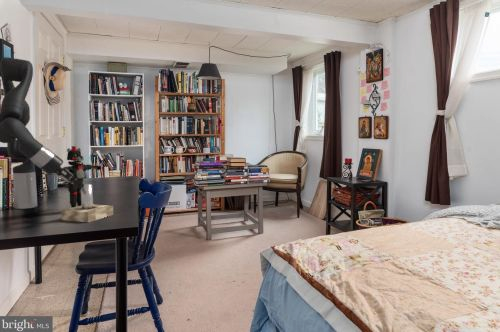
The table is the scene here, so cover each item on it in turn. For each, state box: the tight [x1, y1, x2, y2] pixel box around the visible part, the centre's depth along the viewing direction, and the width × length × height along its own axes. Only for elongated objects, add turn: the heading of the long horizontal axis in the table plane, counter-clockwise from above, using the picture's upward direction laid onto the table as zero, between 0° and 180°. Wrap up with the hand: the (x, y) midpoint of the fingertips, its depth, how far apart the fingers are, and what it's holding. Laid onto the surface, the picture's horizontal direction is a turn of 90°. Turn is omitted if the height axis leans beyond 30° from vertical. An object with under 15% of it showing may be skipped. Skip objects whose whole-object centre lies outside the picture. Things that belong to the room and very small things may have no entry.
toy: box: [53, 145, 102, 208], centre depth 156 cm, size 30×8×30 cm, turn 167°
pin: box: [81, 183, 94, 210], centre depth 144 cm, size 4×4×14 cm
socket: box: [61, 203, 114, 223], centre depth 145 cm, size 14×14×4 cm
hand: (80, 186), depth 143 cm, fingers open, 8 cm apart
